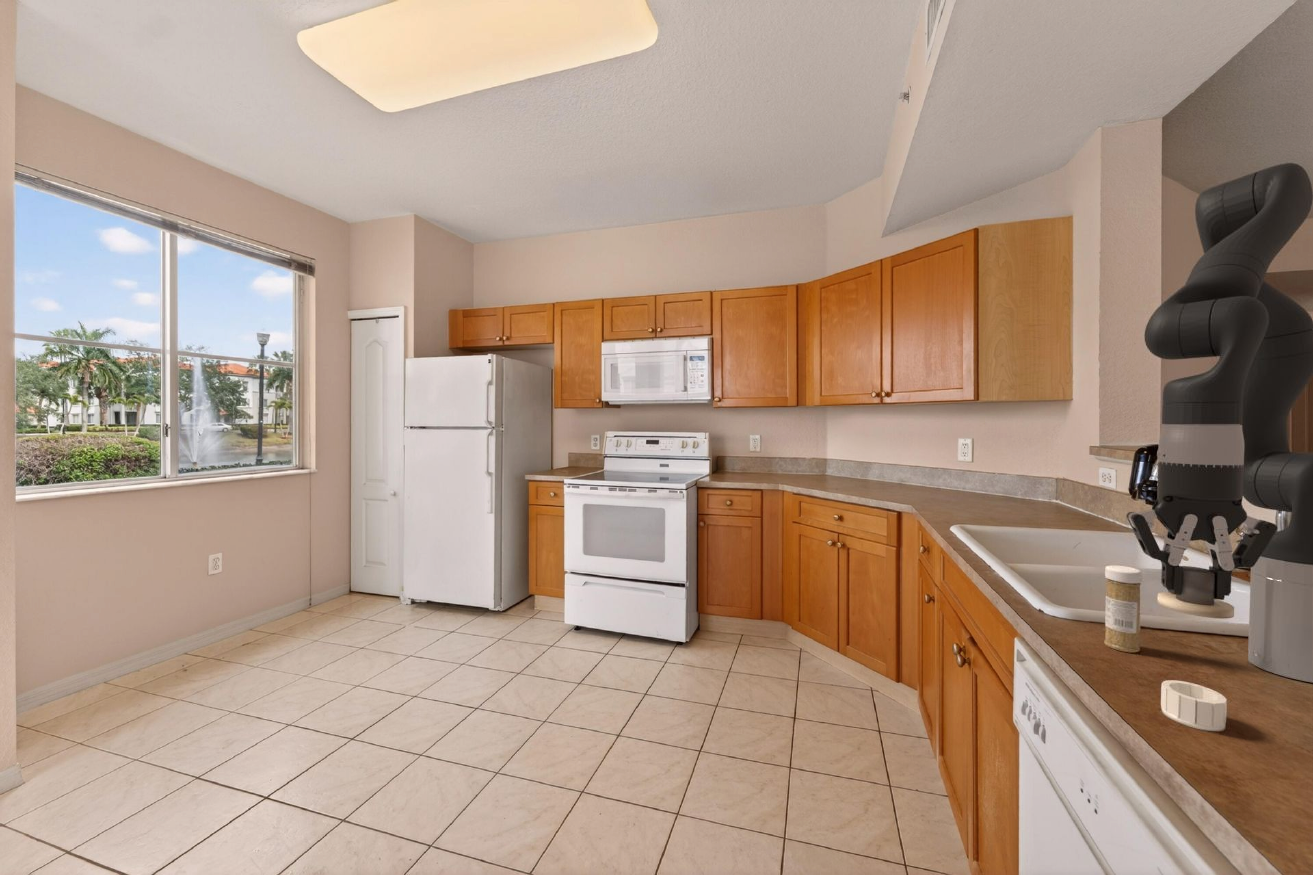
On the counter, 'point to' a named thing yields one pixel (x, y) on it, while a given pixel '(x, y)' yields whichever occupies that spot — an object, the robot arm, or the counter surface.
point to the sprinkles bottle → (1122, 608)
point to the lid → (1197, 595)
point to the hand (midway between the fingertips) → (1195, 594)
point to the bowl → (1193, 705)
